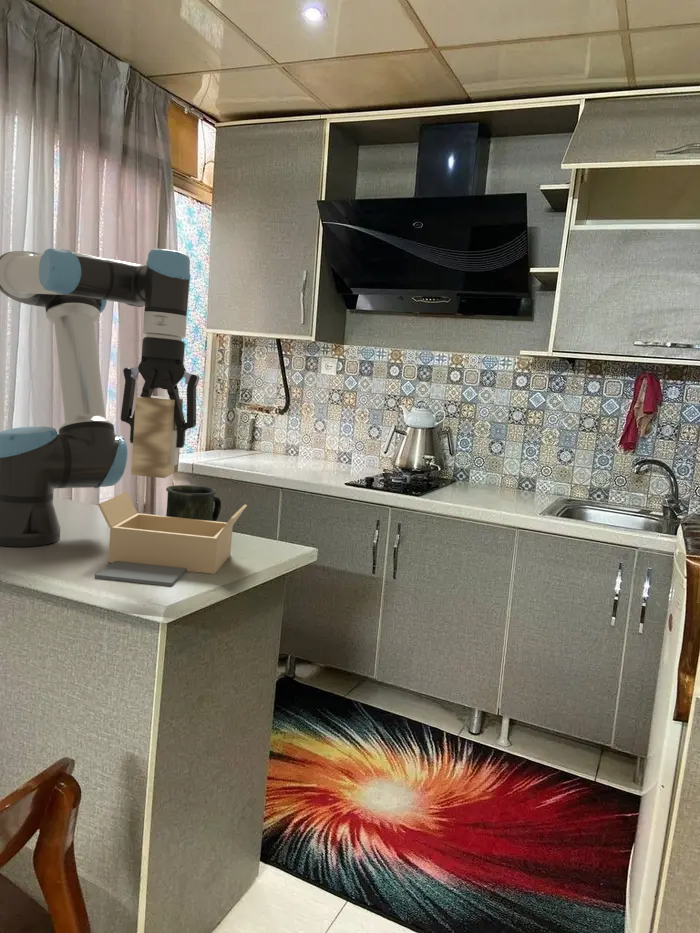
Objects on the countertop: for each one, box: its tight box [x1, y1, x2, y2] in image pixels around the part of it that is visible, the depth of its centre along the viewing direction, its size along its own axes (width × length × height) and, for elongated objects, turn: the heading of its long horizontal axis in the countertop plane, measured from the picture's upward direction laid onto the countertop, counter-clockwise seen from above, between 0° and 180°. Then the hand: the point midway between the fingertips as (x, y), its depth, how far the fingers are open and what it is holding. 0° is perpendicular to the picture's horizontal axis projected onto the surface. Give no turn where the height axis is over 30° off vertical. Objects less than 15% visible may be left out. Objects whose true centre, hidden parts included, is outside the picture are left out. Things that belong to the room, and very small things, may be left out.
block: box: [130, 395, 184, 479], centre depth 132 cm, size 6×10×14 cm, turn 0°
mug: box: [165, 484, 222, 522], centre depth 162 cm, size 11×15×12 cm
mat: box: [94, 561, 187, 587], centre depth 133 cm, size 14×10×1 cm
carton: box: [97, 491, 248, 575], centre depth 145 cm, size 26×15×12 cm, turn 88°
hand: (155, 462), depth 132 cm, fingers closed on block, 6 cm apart
